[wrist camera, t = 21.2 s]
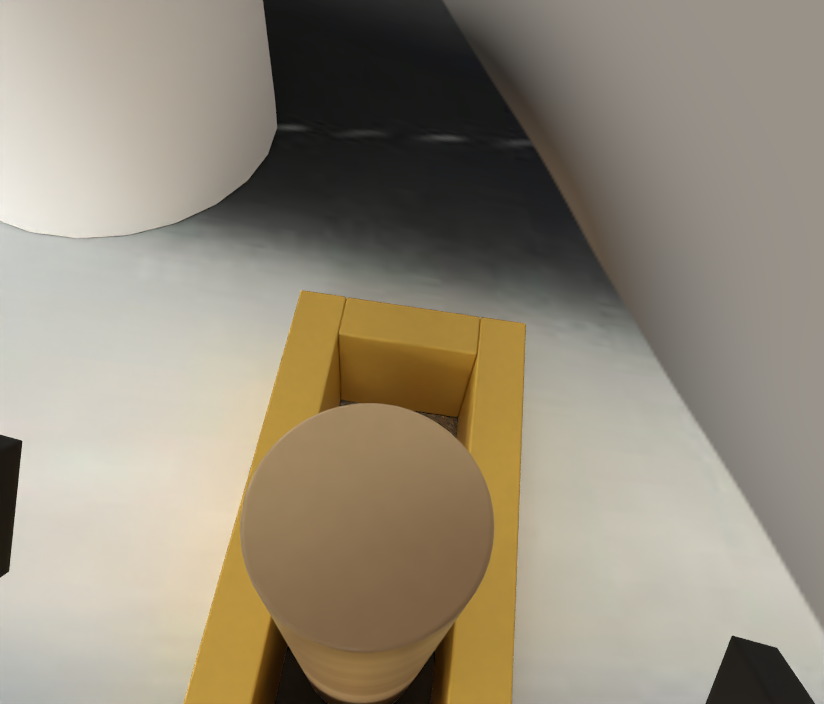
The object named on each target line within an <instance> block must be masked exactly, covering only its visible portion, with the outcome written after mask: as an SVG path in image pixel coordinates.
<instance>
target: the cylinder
mask: <svg viewBox="0 0 824 704" xmlns="http://www.w3.org/2000/svg"><path fill="white" fill-rule="evenodd" d="M276 129H277V119H276V105H275V95H274V87H273V79H272V71H271V63H270V55H269V47H268V39H267V31H266V23H265V14H264V6H263V0H0V221H1V222H4V223H7V224H9V225H12V226H15V227H18V228H20V229H23V230H26V231H29V232H32V233H40V234H48V235H56V236H63V237H71V238H91V237H106V236H122V235H130V234H134V233H138V232H142V231H146V230H150V229H154V228H158V227H162V226H166V225H170V224H174V223H177V222H179V221H181V220H183V219H185V218H188V217H190V216H192V215H194V214H196V213H198V212H201V211H203V210H205V209H207V208H209V207H212V206H214V205H216V204H217V203H219V202H220V201H221V200H223V199H224V198H225V197H227V196H228V195H229V194H231V193H232V192H233V191H234V190H236V189H237V188H238V187H240V186H241V185H242V184H244V183H245V182H246V181H248V179H249V178H250V177H251V176H252V174H253V173H254V172H255V170H256V169H257V168H258V167H259V165H260V164H261V163H262V161H263V160H264V159H265V158H266V156H267V155H268V153H269V150H270V147H271V144H272V141H273V138H274V135H275V132H276Z"/></svg>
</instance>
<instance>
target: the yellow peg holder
mask: <svg viewBox="0 0 824 704" xmlns="http://www.w3.org/2000/svg"><path fill="white" fill-rule="evenodd" d="M525 337H526V325H525V324H524V323H518V322H511V321H505V320H498V319H491V318H484V317H482V318H481V319H480V318H479V317H477V316H470V315H463V314H457V313H450V312H443V311H436V310H430V309H423V308H416V307H409V306H402V305H396V304H389V303H382V302H375V301H369V300H362V299H355V298H347V299H346V297H344V296H337V295H330V294H323V293H317V292H310V291H303V290H302V291H301V292H300V296H299V299H298V303H297V306H296V310H295V314H294V317H293V321H292V324H291V328H290V331H289V335H288V338H287V342H286V345H285V349H284V352H283V356H282V359H281V363H280V366H279V370H278V373H277V377H276V380H275V384H274V387H273V391H272V394H271V398H270V401H269V405H268V408H267V412H266V415H265V419H264V422H263V426H262V429H261V433H260V436H259V440H258V443H257V447H256V451H255V454H254V458H253V461H252V465H251V468H250V472H249V475H248V479H247V482H246V486H245V489H244V493H243V496H242V500H241V503H240V507H239V510H238V514H237V517H236V521H235V524H234V528H233V531H232V535H231V538H230V542H229V545H228V549H227V552H226V556H225V559H224V563H223V566H222V570H221V573H220V577H219V580H218V584H217V587H216V591H215V595H214V598H213V602H212V605H211V609H210V612H209V616H208V619H207V623H206V626H205V630H204V633H203V637H202V640H201V644H200V647H199V651H198V654H197V658H196V661H195V665H194V668H193V672H192V675H191V679H190V682H189V686H188V689H187V693H186V696H185V700H184V703H183V704H275V701H276V696H277V692H278V687H279V683H280V678H281V673H282V669H283V664H284V659H285V655H286V650H287V645H288V644H287V642H286V641H285V639H284V637H283V636H282V634H281V632H280V630H279V629H278V627H277V625H276V624H275V622H274V620H273V618H272V617H271V615H270V613H269V612H268V610H267V608H266V606H265V605H264V603H263V601H262V600H261V598H260V596H259V595H258V593H257V591H256V589H255V588H254V586H253V584H252V582H251V579H250V577H249V574H248V572H247V569H246V566H245V562H244V558H243V554H242V549H241V539H240V519H241V512H242V506H243V501H244V498H245V494H246V491H247V488H248V485H249V483H250V481H251V478H252V476H253V474H254V472H255V470H256V469H257V467H258V465H259V464H260V462H261V460H262V459H263V457H264V456H265V455H266V454H267V452H268V451H269V450H270V449H271V447H272V446H273V445H274V444H275V443H276V442H277V441H278V440H279V439H280V438H281V437H282V436H283V435H284V434H286V433H287V432H288V431H290V430H291V429H292V428H294V427H295V426H296V425H298V424H299V423H301V422H303V421H304V420H306V419H308V418H310V417H312V416H314V415H316V414H318V413H321V412H323V411H326V410H329V409H332V408H336V407H339V405H340V400H341V399H342V400H346V401H353V402H359V403H379V404H387V405H393V406H399V407H402V408H405V409H409V410H413V411H420V412H426V413H433V414H440V415H447V416H453V417H458V416H459V419H458V429H457V439H458V440H459V441H460V442H461V443H462V444H463V446H464V447H465V448H466V449H467V451H468V452H469V453H470V454H471V456H472V457H473V459H474V460H475V462H476V463H477V465H478V467H479V468H480V470H481V473H482V475H483V477H484V479H485V481H486V484H487V487H488V490H489V493H490V496H491V501H492V507H493V512H494V540H493V548H492V552H491V557H490V561H489V564H488V567H487V570H486V572H485V575H484V578H483V579H482V581H481V583H480V585H479V587H478V589H477V591H476V593H475V594H474V595H473V597H472V598H471V600H470V601H469V603H468V604H467V605H466V607H465V608H464V610H463V611H462V612H461V614H460V615H459V617H458V618H457V619H456V621H455V622H454V624H453V625H452V627H451V628H450V629H449V631H448V632H447V634H446V635H445V636H444V638H443V639H442V641H441V642H440V643H439V645H438V646H437V648H436V652H435V662H434V672H433V682H432V692H431V703H430V704H512V683H513V656H514V630H515V603H516V576H517V550H518V523H519V496H520V470H521V443H522V416H523V390H524V363H525Z"/></svg>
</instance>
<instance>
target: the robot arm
mask: <svg viewBox="0 0 824 704" xmlns="http://www.w3.org/2000/svg"><path fill="white" fill-rule="evenodd" d="M21 449H22V441H21V440H17V439H14V438H10V437H7V436H3V435H0V577H2V576H3V575H5V574H6V573H7V572H9V567H10V557H11V547H12V537H13V527H14V517H15V508H16V498H17V488H18V478H19V468H20V458H21ZM706 704H815V703H814V701H813V700H812V698H811V697H810V696H809V694H808V693H807V691H806V690H805V688H804V687H803V685H802V684H801V682H800V681H799V679H798V678H797V676H796V675H795V674H794V672H793V671H792V669H791V668H790V666H789V665H788V663H787V662H786V660H785V659H784V657H783V656H782V654H781V653H780V652H779V650H778V649H777V648H775V647H772V646H768V645H764V644H761V643H757V642H753V641H750V640H746V639H743V638H739V637H735V636H732V637H731V640H730V642H729V645H728V647H727V650H726V652H725V655H724V658H723V660H722V663H721V665H720V668H719V670H718V673H717V676H716V678H715V681H714V683H713V686H712V688H711V691H710V694H709V696H708V699H707V701H706Z"/></svg>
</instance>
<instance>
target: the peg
mask: <svg viewBox="0 0 824 704" xmlns="http://www.w3.org/2000/svg"><path fill="white" fill-rule="evenodd" d="M240 539H241V549H242V554H243V558H244V562H245V566H246V569H247V572H248V574H249V577H250V579H251V582H252V584H253V586H254V588H255V589H256V591H257V593H258V595H259V596H260V598H261V600H262V601H263V603H264V605H265V606H266V608H267V610H268V612H269V613H270V615H271V617H272V618H273V620H274V622H275V624H276V625H277V627H278V629H279V630H280V632H281V634H282V636H283V637H284V639H285V641H286V642H287V644H288V646H289V648H290V649H291V651H292V653H293V654H294V656H295V658H296V660H297V661H298V663H299V665H300V666H301V668H302V670H303V672H304V673H305V675H306V677H307V678H308V680H309V682H310V684H311V685H312V687H313V689H314V690H315V691H316V693H317V694H318V695H319V696H320V697H321V698H322V699H323V700H324V701H325V702H326V703H328V704H393V703H394V702H395V701H396V700H397V699H399V698H400V697H401V696H402V695H403V694H404V692H405V691H406V690H407V689H408V687H409V686H410V684H411V683H412V681H413V680H414V679H415V677H416V676H417V674H418V673H419V672H420V670H421V669H422V667H423V666H424V665H425V663H426V662H427V660H428V659H429V658H430V656H431V655H432V653H433V652H434V650H435V649H436V648H437V646H438V645H439V643H440V642H441V641H442V639H443V638H444V636H445V635H446V634H447V632H448V631H449V629H450V628H451V627H452V625H453V624H454V622H455V621H456V619H457V618H458V617H459V615H460V614H461V612H462V611H463V610H464V608H465V607H466V605H467V604H468V603H469V601H470V600H471V598H472V597H473V595H474V594H475V593H476V591H477V589H478V587H479V585H480V583H481V581H482V579H483V578H484V575H485V572H486V570H487V567H488V564H489V561H490V557H491V552H492V548H493V540H494V512H493V507H492V501H491V496H490V493H489V490H488V487H487V484H486V481H485V479H484V477H483V475H482V473H481V470H480V468H479V467H478V465H477V463H476V462H475V460H474V459H473V457H472V456H471V454H470V453H469V452H468V451H467V449H466V448H465V447H464V446H463V444H462V443H461V442H460V441H459V440H458V439H457V438H456V437H454V436H453V435H452V434H451V433H450V432H449V431H448V430H446V429H445V428H444V427H442V426H441V425H440V424H438V423H436V422H435V421H433V420H431V419H429V418H428V417H426V416H424V415H422V414H419V413H417V412H414V411H412V410H409V409H405V408H402V407H399V406H393V405H387V404H379V403H360V404H350V405H345V406H339V407H336V408H332V409H329V410H326V411H323V412H321V413H318V414H316V415H314V416H312V417H310V418H308V419H306V420H304V421H303V422H301V423H299V424H298V425H296V426H295V427H294V428H292V429H291V430H290V431H288V432H287V433H286V434H284V435H283V436H282V437H281V438H280V439H279V440H278V441H277V442H276V443H275V444H274V445H273V446H272V447H271V449H270V450H269V451H268V452H267V454H266V455H265V456H264V457H263V459H262V460H261V462H260V464H259V465H258V467H257V469H256V470H255V472H254V474H253V476H252V478H251V481H250V483H249V485H248V488H247V491H246V494H245V498H244V501H243V506H242V512H241V519H240Z"/></svg>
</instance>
